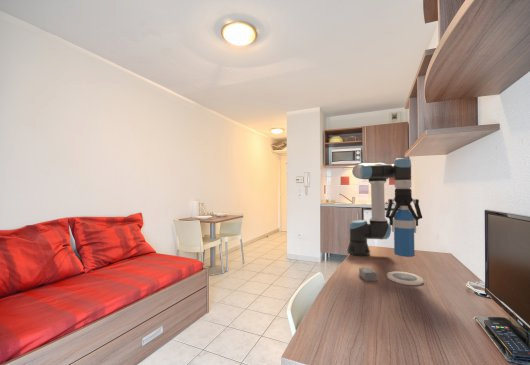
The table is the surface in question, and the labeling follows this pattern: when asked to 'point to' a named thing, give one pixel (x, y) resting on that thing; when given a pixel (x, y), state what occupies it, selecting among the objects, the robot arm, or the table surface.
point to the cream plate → (404, 278)
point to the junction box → (368, 274)
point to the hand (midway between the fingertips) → (403, 231)
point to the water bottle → (404, 233)
